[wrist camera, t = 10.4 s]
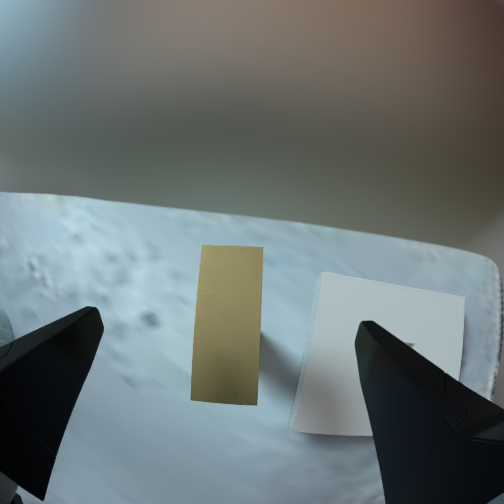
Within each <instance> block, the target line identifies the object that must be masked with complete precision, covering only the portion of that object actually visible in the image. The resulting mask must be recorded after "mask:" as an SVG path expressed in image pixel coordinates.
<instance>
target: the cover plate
mask: <svg viewBox="0 0 504 504" xmlns="http://www.w3.org/2000/svg"><path fill="white" fill-rule="evenodd" d="M366 320H373V321H374V322H376V323H377V324H379V325H380V326H382V327H383V328H384V329H386V330H387V331H389V332H390V333H391V334H393V335H394V336H396V337H397V338H399V339H400V340H401V341H403V342H404V343H406V344H407V345H408V346H410V347H411V348H413V349H414V350H415V351H417V352H418V353H420V354H421V355H422V356H424V357H425V358H427V359H428V360H429V361H431V362H432V363H434V364H435V365H436V366H438V367H439V368H441V369H442V370H443V371H445V373H448V374H449V375H450V376H452V377H453V378H454V379H456V380H457V381H459V374H460V366H461V357H462V346H463V331H464V297H462V296H457V295H451V294H445V293H440V292H434V291H428V290H423V289H417V288H412V287H406V286H401V285H395V284H389V283H384V282H378V281H373V280H367V279H362V278H356V277H351V276H346V275H340V274H335V273H329V272H324V271H322V273H321V274H320V276H319V277H318V278H317V280H316V285H315V291H314V298H313V304H312V311H311V317H310V323H309V328H308V334H307V340H306V345H305V350H304V356H303V361H302V366H301V371H300V376H299V380H298V385H297V390H296V394H295V399H294V403H293V407H292V411H291V416H290V420H289V425H290V427H291V429H292V431H296V432H305V433H315V434H328V435H347V436H373V434H372V430H371V425H370V421H369V417H368V413H367V409H366V405H365V401H364V397H363V393H362V389H361V385H360V379H359V372H358V365H357V358H356V352H355V338H356V334H357V331H358V327H359V324H360V322H361V321H366Z"/></svg>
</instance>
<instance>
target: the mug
mask: <svg viewBox="0 0 504 504" xmlns="http://www.w3.org/2000/svg"><path fill="white" fill-rule="evenodd" d="M12 341H13V334H12V329H11V325H10V321H9V319H8V316H7V314H6V313H5V311H4V310H3V309H2V308H1V307H0V347H1V346H3V345H6V344H8V343H10V342H12Z"/></svg>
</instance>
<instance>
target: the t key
mask: <svg viewBox="0 0 504 504" xmlns="http://www.w3.org/2000/svg"><path fill="white" fill-rule="evenodd" d="M262 272H263V247H243V246H211V245H202V253H201V262H200V272H199V282H198V292H197V304H196V316H195V329H194V343H193V359H192V378H191V400H194V401H202V402H212V403H223V404H237V405H257V399H258V377H259V354H260V328H261V301H262Z"/></svg>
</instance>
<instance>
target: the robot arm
mask: <svg viewBox="0 0 504 504" xmlns="http://www.w3.org/2000/svg"><path fill="white" fill-rule="evenodd" d="M103 332H104V326H103V322H102V319H101V316H100V313H99V310H98V309H97V308H96V307H91V306H87V307H84V308H82V309H80V310H78V311H76V312H73V313H71V314H69V315H67V316H65V317H63V318H60V319H58V320H56V321H54V322H52V323H50V324H48V325H45V326H43V327H41V328H39V329H37V330H35V331H33V332H31V333H29V334H26V335H24V336H22V337H20V338H18V339H16V340H14V341H12V342H10V343H8V344H6V345H3V346H1V347H0V504H23V502H22V499H21V496H20V495H18V494H17V493H16V491H17V488H18V486H20V487H22V488H23V489H24V490H26V491H27V492H29V493H30V494H32V495H34V496H35V497H37V498H38V499H40V500H41V501H44V498H45V495H46V491H47V487H48V483H49V480H50V476H51V473H52V469H53V466H54V463H55V459H56V456H57V453H58V450H59V447H60V444H61V441H62V438H63V435H64V432H65V429H66V427H67V424H68V421H69V419H70V416H71V413H72V411H73V408H74V406H75V403H76V401H77V398H78V396H79V394H80V391H81V389H82V386H83V384H84V382H85V380H86V377H87V375H88V373H89V371H90V368H91V366H92V363H93V360H94V357H95V355H96V352H97V349H98V346H99V343H100V340H101V338H102V335H103ZM355 352H356V358H357V365H358V372H359V379H360V385H361V389H362V393H363V397H364V401H365V405H366V409H367V413H368V417H369V421H370V425H371V430H372V434H373V438H374V443H375V448H376V452H377V457H378V462H379V467H380V472H381V478H382V483H383V489H384V493H385V494H384V496H385V502H386V504H504V409H502V408H501V407H499V406H497V405H496V404H494V403H492V402H491V401H489V400H487V399H486V398H484V397H482V396H481V395H479V394H477V393H476V392H474V391H472V390H471V389H469V388H468V387H466V386H465V385H463V384H462V383H460V382H459V381H457V380H456V379H454V378H453V377H452V376H450V375H449V374H448V373H445V371H443V370H442V369H441V368H439V367H438V366H436V365H435V364H434V363H432V362H431V361H429V360H428V359H427V358H425V357H424V356H422V355H421V354H420V353H418V352H417V351H415V350H414V349H413V348H411V347H410V346H408V345H407V344H406V343H404V342H403V341H401V340H400V339H399V338H397V337H396V336H394V335H393V334H391V333H390V332H389V331H387V330H386V329H384V328H383V327H382V326H380V325H379V324H377V323H376V322H374V321H373V320H366V321H361V322H360V324H359V327H358V331H357V334H356V338H355Z"/></svg>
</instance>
